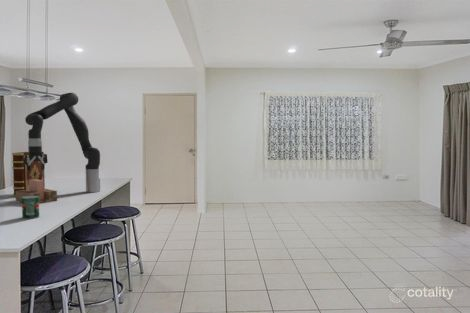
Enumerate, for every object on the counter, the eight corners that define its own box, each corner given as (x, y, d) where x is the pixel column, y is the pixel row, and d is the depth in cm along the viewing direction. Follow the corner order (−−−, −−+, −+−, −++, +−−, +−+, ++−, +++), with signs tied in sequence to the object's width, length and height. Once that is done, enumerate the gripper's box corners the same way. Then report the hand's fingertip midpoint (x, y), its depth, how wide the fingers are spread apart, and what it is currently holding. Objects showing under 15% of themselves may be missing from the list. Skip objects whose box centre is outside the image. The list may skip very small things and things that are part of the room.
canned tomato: (19, 217, 188) (19, 196, 187) (35, 214, 194) (35, 194, 194) (26, 219, 183) (25, 198, 182) (42, 217, 189) (41, 196, 189)
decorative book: (21, 197, 243) (20, 153, 240) (11, 196, 244) (10, 152, 242) (45, 191, 264) (44, 151, 262) (35, 191, 266) (34, 151, 264)
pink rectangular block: (35, 197, 236) (35, 179, 235) (44, 199, 230) (43, 180, 229) (29, 197, 233) (28, 179, 232) (37, 200, 227) (37, 181, 226)
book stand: (40, 197, 244) (40, 187, 243) (57, 200, 232) (56, 190, 232) (15, 200, 230) (15, 190, 230) (31, 204, 219) (31, 194, 219)
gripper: (43, 145, 237) (43, 169, 238) (20, 145, 225) (21, 171, 226) (49, 145, 233) (49, 170, 234) (26, 146, 221) (27, 172, 222)
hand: (35, 170), depth 230 cm, fingers open, 8 cm apart
